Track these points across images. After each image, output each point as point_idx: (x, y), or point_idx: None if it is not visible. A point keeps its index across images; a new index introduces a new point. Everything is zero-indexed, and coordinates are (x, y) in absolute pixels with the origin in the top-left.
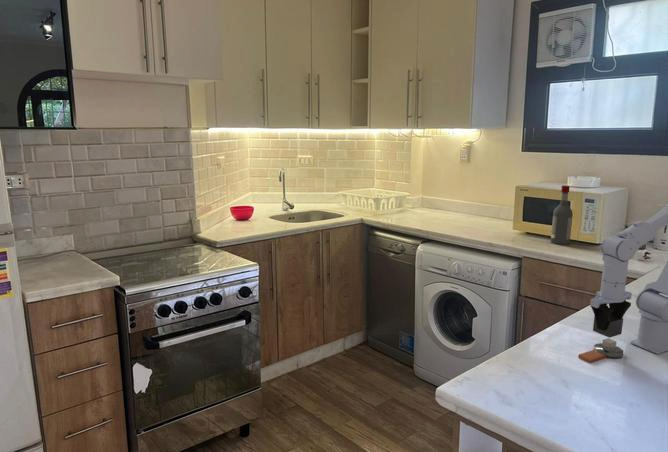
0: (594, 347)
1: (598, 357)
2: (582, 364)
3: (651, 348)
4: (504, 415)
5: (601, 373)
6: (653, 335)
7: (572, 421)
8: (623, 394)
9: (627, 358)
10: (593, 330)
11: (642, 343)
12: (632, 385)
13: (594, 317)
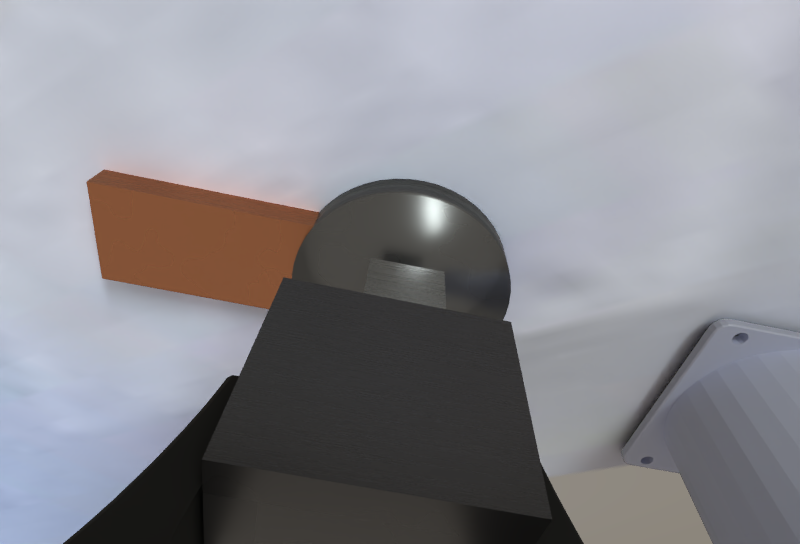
0: (329, 216)
1: (198, 295)
2: (46, 237)
3: (666, 435)
4: None
5: (75, 349)
6: (710, 531)
7: None
8: (11, 462)
9: None
10: (278, 290)
11: (692, 407)
12: (128, 462)
13: (217, 429)
